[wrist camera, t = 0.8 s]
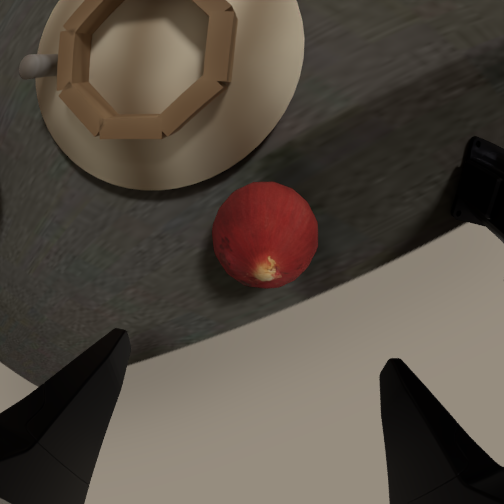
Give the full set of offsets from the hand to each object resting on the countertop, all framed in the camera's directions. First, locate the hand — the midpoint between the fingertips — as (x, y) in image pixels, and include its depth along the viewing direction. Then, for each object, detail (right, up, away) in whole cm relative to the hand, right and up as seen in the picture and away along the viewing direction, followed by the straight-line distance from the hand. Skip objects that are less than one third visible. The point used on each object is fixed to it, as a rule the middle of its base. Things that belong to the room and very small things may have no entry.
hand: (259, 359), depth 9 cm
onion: (+1, +6, +11) cm, 13 cm away
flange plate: (-6, +16, +6) cm, 18 cm away
